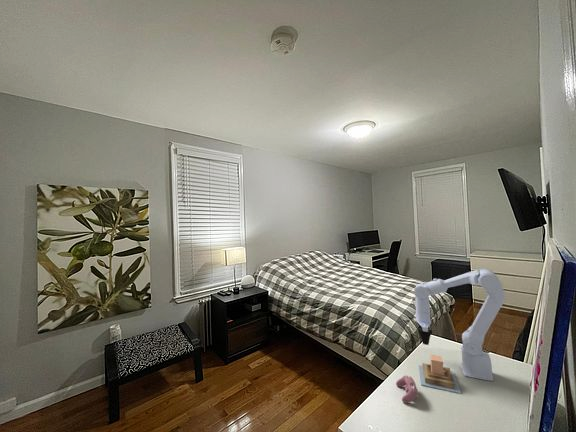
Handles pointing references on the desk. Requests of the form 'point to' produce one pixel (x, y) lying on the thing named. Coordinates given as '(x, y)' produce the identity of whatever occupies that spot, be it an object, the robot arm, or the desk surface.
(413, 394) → the video game controller
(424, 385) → the mat
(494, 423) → the desk surface
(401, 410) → the desk surface
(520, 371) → the desk surface
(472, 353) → the robot arm
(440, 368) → the terracotta block
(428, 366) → the walnut plinth
